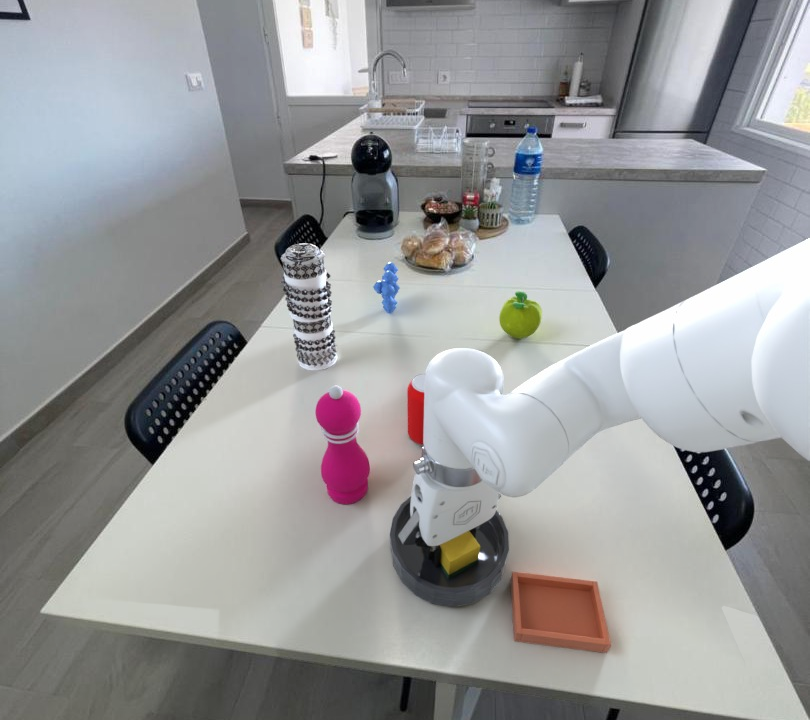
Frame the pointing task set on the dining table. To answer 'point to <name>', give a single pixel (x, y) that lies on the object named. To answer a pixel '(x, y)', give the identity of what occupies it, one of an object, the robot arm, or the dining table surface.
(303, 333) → the decorative candle
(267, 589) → the dining table surface
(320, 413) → the pepper mill
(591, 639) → the soap dish
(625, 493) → the dining table surface
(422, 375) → the beverage can
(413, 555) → the pan
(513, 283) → the dining table surface
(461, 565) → the sponge
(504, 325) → the fruit
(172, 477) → the dining table surface
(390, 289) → the grapes
